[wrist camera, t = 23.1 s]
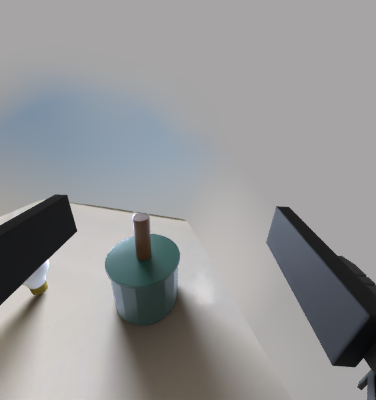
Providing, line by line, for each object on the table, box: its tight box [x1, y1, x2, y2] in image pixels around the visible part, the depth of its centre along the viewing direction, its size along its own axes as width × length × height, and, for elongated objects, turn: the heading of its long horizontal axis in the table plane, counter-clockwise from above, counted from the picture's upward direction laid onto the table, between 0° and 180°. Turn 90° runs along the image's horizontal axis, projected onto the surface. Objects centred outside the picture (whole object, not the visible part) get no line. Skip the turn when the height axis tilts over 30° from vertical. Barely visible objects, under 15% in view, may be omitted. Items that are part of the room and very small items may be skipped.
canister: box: [111, 267, 178, 325], centre depth 37 cm, size 13×13×10 cm
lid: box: [105, 213, 180, 289], centre depth 32 cm, size 14×14×10 cm
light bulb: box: [22, 260, 49, 295], centre depth 36 cm, size 6×6×10 cm
